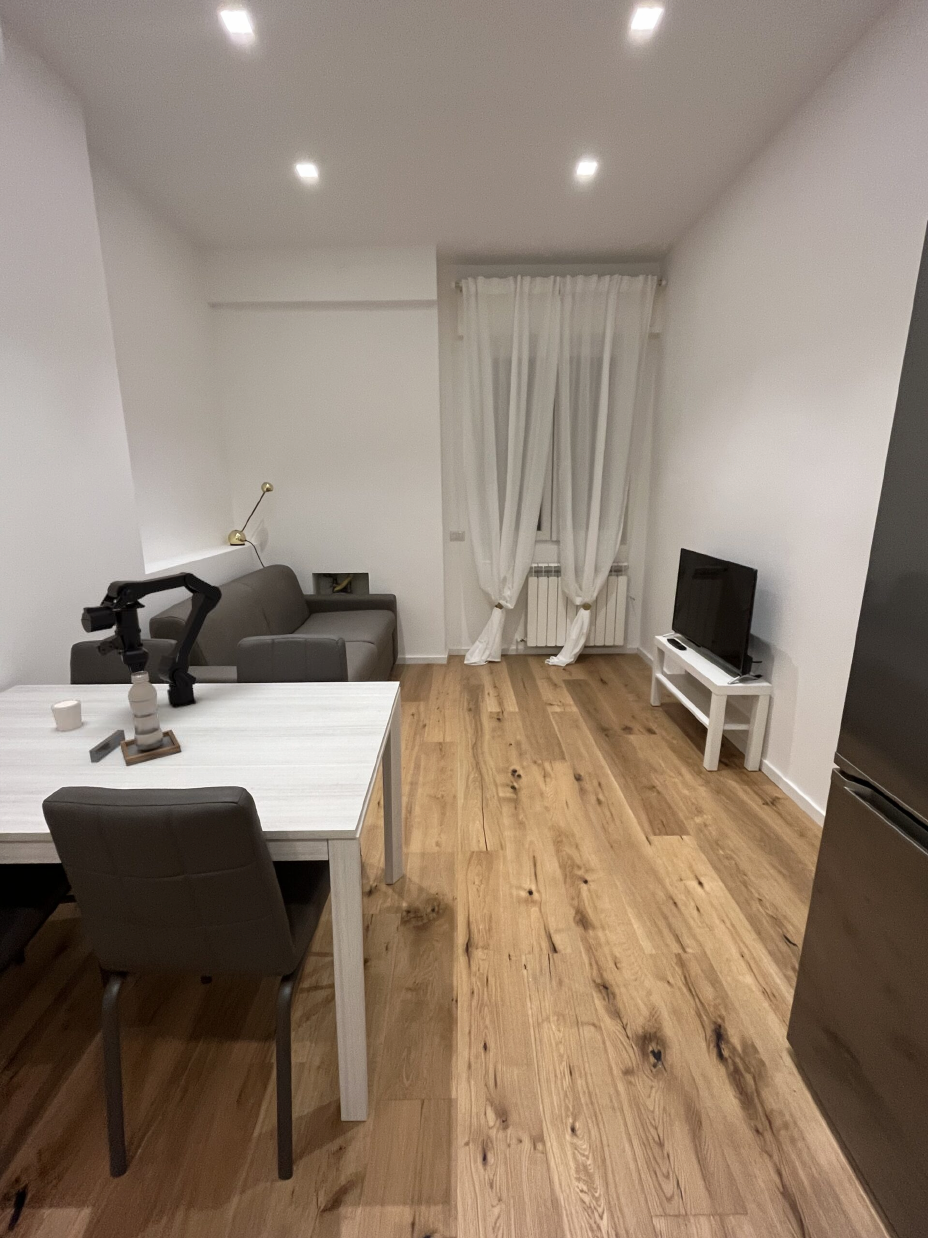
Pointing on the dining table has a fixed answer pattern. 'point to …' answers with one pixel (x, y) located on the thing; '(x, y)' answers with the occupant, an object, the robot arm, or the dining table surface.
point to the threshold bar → (106, 746)
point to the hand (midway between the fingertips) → (134, 678)
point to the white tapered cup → (67, 714)
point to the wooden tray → (137, 756)
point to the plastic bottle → (145, 712)
